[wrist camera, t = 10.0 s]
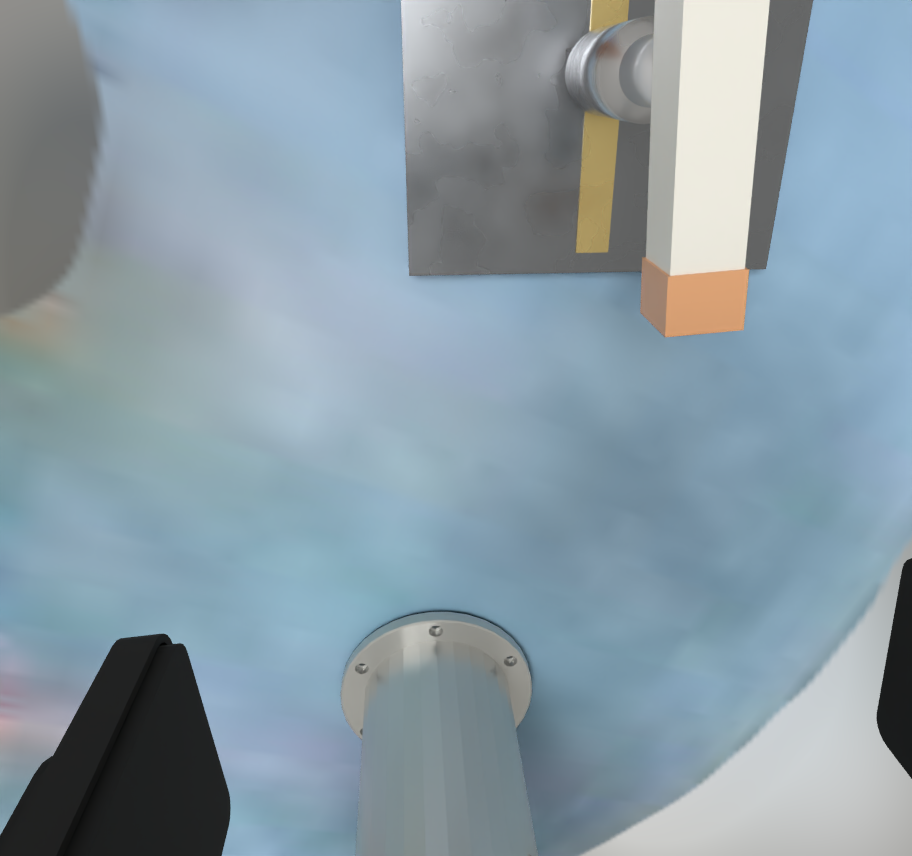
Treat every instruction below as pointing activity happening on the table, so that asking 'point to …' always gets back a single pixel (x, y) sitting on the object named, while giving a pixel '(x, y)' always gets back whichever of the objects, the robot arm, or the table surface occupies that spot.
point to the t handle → (698, 158)
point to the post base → (553, 134)
